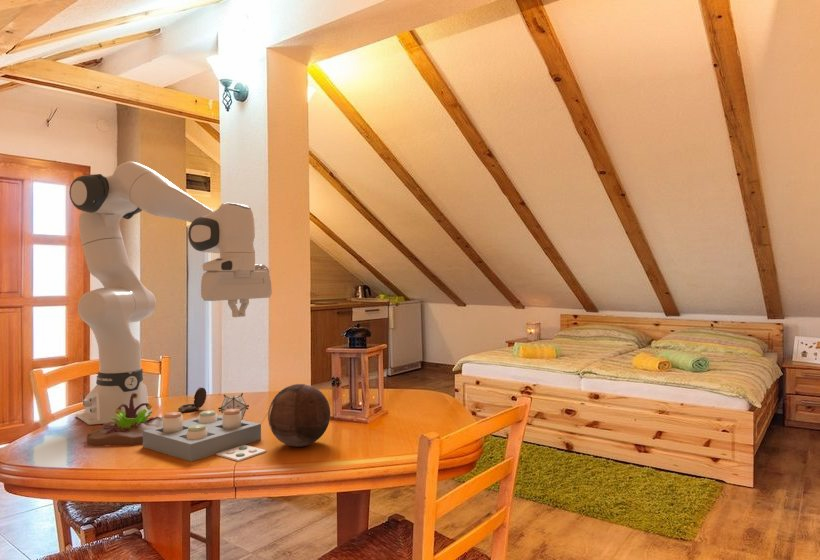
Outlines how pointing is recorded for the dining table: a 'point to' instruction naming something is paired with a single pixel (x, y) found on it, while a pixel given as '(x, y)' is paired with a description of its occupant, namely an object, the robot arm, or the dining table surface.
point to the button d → (231, 419)
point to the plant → (125, 426)
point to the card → (241, 452)
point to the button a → (172, 422)
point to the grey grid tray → (203, 447)
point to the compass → (195, 401)
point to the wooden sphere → (299, 415)
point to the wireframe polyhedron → (234, 404)
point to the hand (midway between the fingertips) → (238, 316)
